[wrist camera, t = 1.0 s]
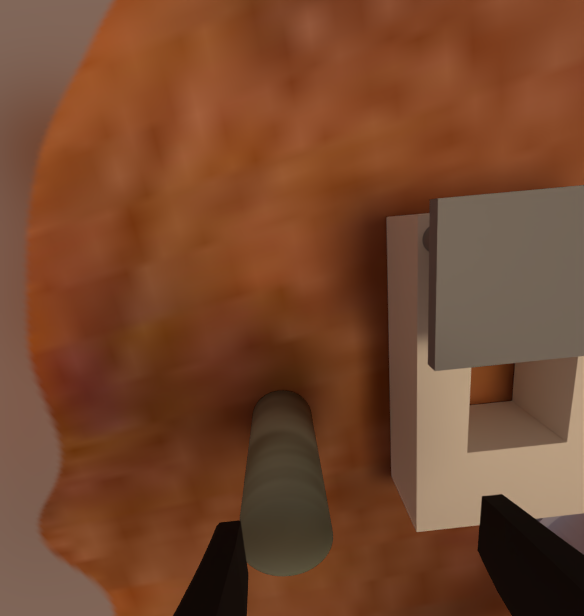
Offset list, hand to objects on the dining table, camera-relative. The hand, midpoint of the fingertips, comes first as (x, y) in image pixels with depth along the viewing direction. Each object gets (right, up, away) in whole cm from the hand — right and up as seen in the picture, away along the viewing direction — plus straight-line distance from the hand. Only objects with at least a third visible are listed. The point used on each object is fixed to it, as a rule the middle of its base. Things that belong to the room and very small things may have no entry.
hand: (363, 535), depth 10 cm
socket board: (+8, +4, +10) cm, 13 cm away
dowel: (-3, 0, +10) cm, 10 cm away
